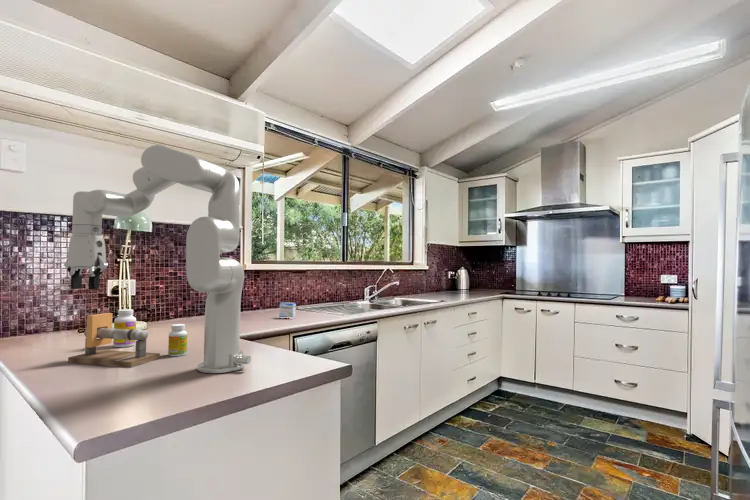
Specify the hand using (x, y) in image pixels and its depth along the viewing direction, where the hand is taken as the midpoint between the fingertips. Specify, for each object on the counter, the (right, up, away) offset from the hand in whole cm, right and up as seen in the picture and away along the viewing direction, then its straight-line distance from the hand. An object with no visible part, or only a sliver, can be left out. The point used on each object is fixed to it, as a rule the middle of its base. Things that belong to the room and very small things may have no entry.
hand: (84, 288), depth 123 cm
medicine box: (+43, -26, +91) cm, 104 cm away
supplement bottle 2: (+26, -22, +5) cm, 35 cm away
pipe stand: (+12, -22, -3) cm, 25 cm away
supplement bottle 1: (+1, -22, +17) cm, 28 cm away
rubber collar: (+6, -17, -2) cm, 18 cm away
